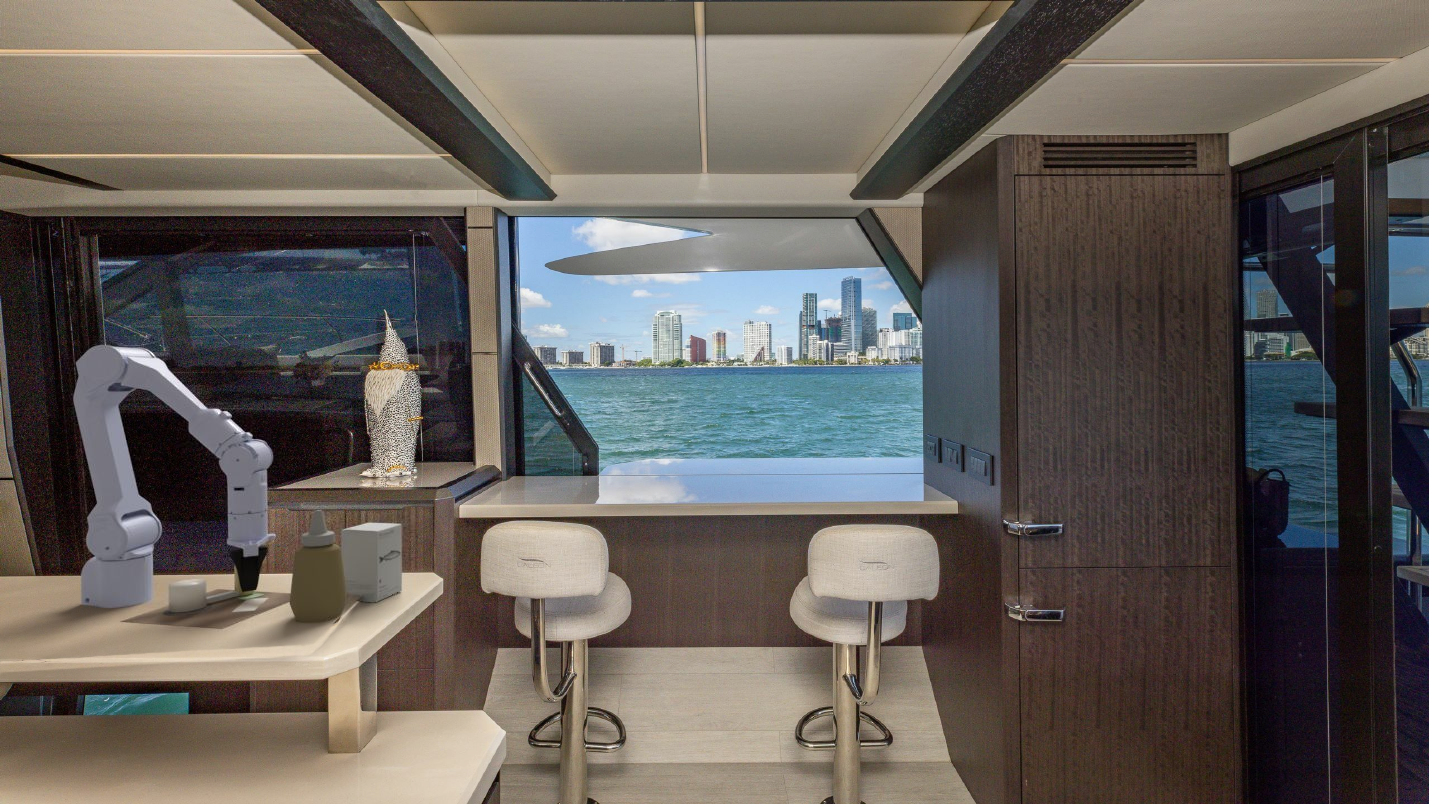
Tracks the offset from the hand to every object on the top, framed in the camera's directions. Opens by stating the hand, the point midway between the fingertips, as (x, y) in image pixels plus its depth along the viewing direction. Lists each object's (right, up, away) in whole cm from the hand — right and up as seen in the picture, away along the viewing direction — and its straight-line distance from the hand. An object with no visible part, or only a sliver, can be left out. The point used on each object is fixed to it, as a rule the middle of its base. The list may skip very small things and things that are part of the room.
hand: (249, 590), depth 125 cm
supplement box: (+18, -3, +6) cm, 20 cm away
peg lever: (-4, -1, -3) cm, 5 cm away
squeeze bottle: (+17, -3, -9) cm, 19 cm away
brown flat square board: (-2, -3, -5) cm, 6 cm away
